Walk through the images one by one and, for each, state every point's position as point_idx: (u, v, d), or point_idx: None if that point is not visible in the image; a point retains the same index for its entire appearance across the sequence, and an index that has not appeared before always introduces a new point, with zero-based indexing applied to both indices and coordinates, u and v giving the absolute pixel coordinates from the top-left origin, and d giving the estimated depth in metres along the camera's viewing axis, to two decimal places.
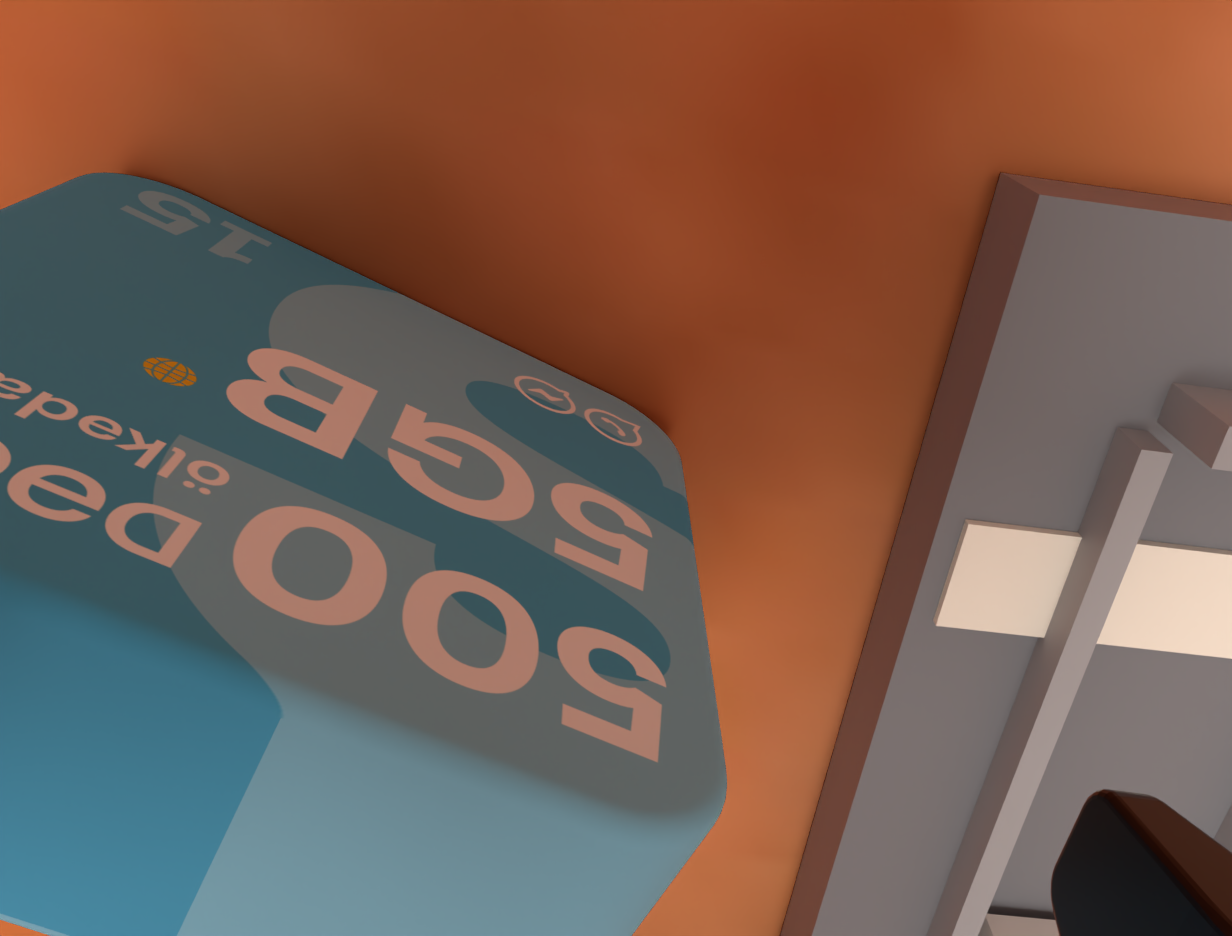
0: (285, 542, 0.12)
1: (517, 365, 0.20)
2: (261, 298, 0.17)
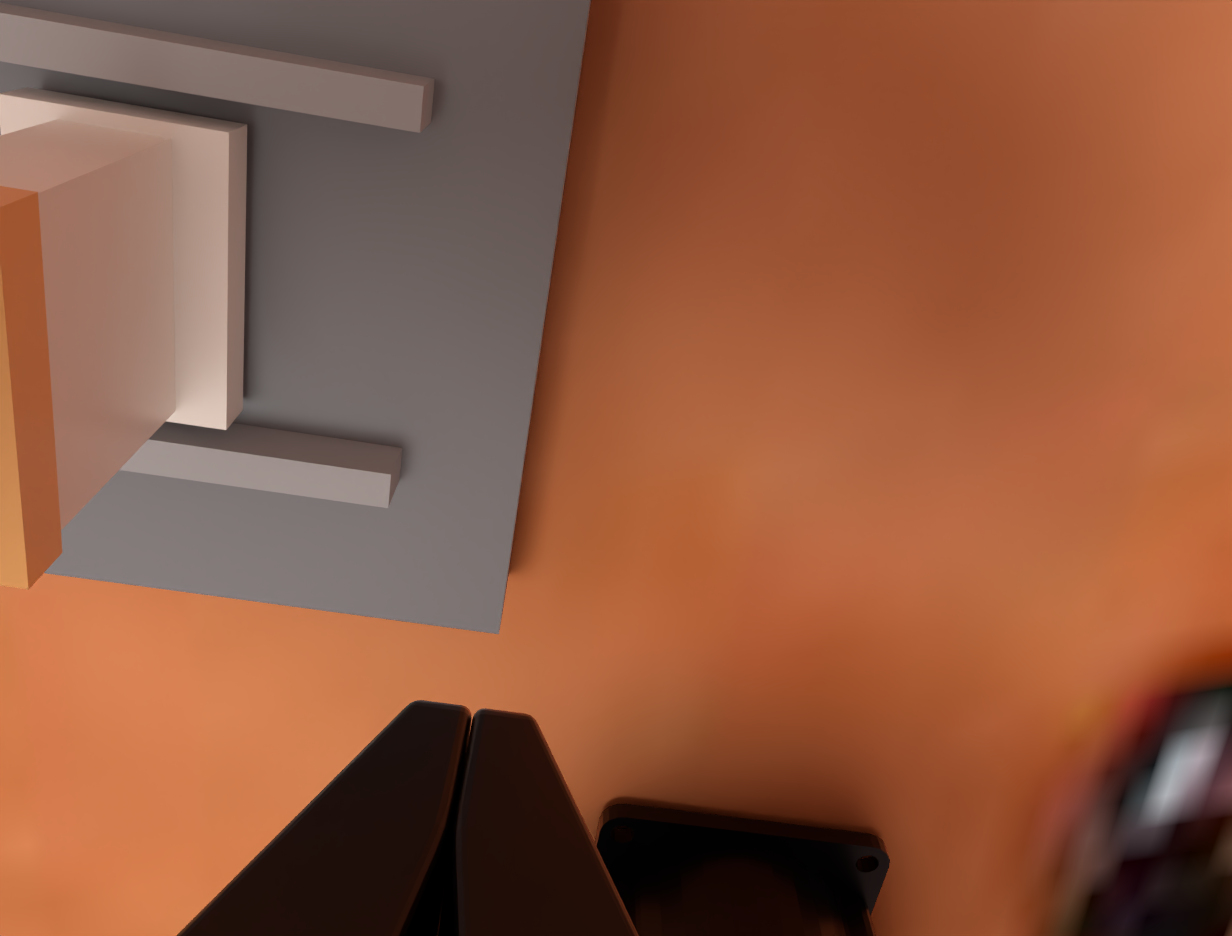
0: None
1: None
2: None
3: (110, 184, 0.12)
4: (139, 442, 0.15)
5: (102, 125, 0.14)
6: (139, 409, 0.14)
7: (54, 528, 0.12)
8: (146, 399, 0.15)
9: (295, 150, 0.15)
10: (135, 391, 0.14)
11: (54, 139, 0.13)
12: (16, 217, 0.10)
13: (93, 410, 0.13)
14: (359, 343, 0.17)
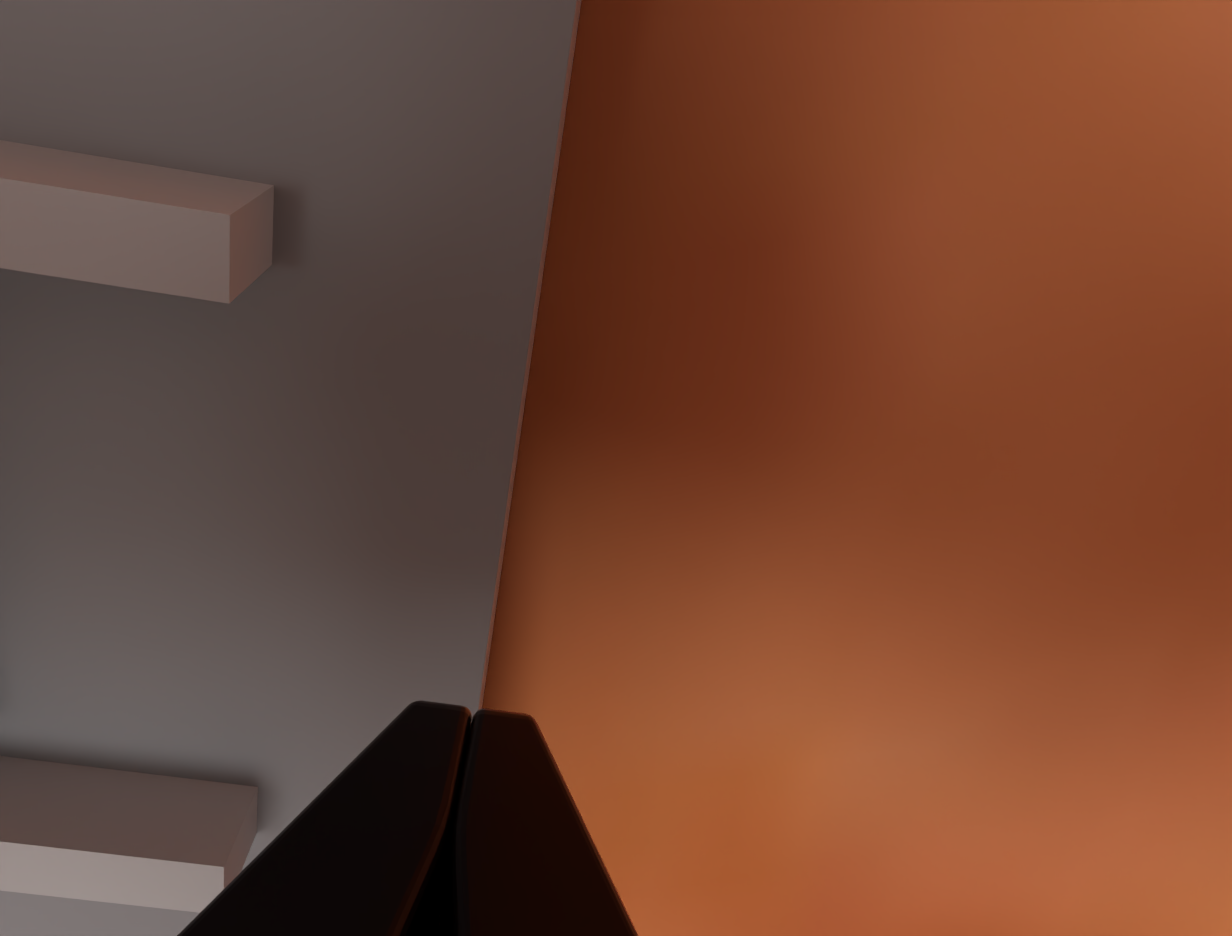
0: None
1: None
2: None
3: None
4: None
5: None
6: None
7: None
8: None
9: (20, 314, 0.08)
10: None
11: None
12: None
13: None
14: (171, 631, 0.09)
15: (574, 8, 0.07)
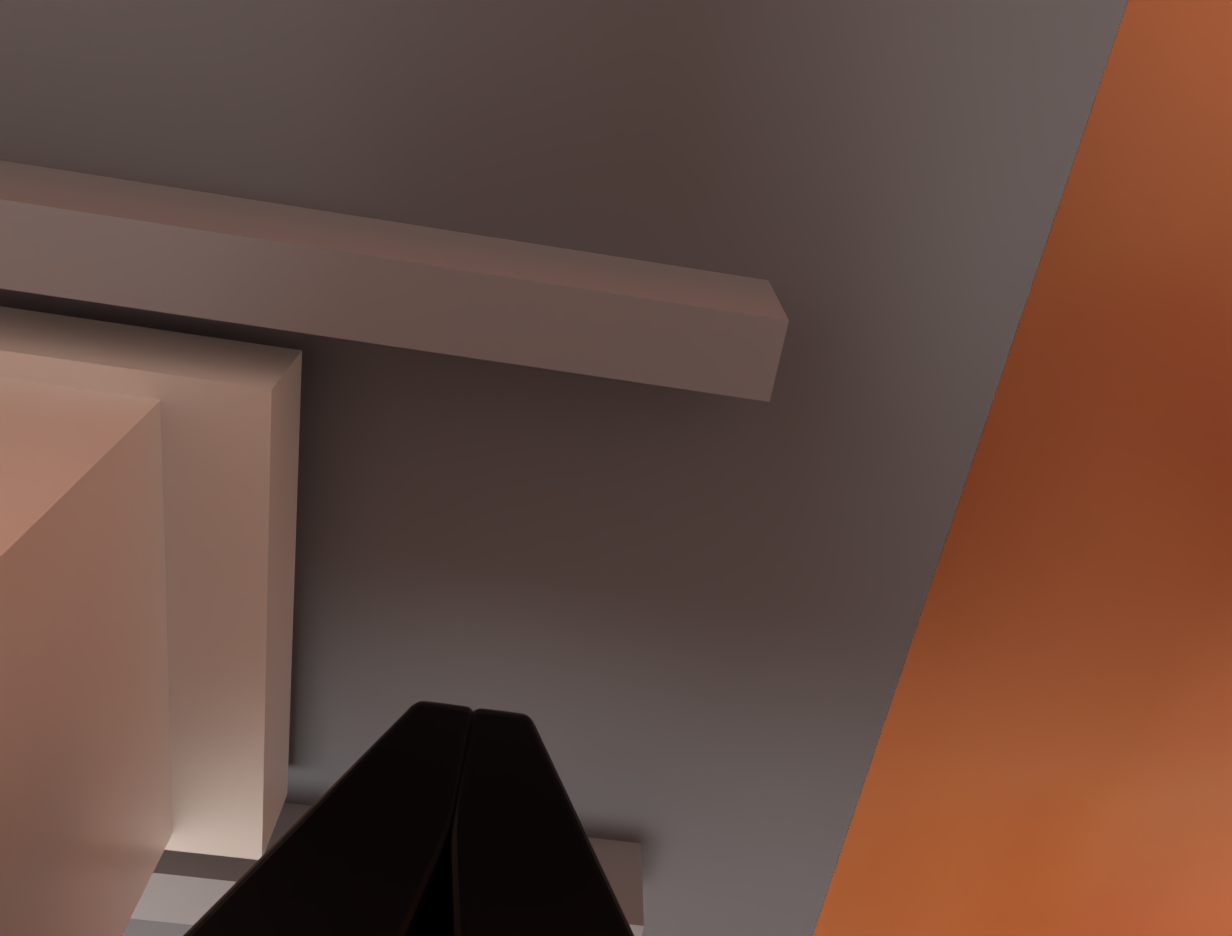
0: None
1: None
2: None
3: (19, 580, 0.06)
4: None
5: (23, 378, 0.07)
6: (101, 911, 0.08)
7: None
8: (116, 879, 0.08)
9: (501, 402, 0.08)
10: (92, 892, 0.07)
11: None
12: None
13: None
14: (586, 697, 0.10)
15: None
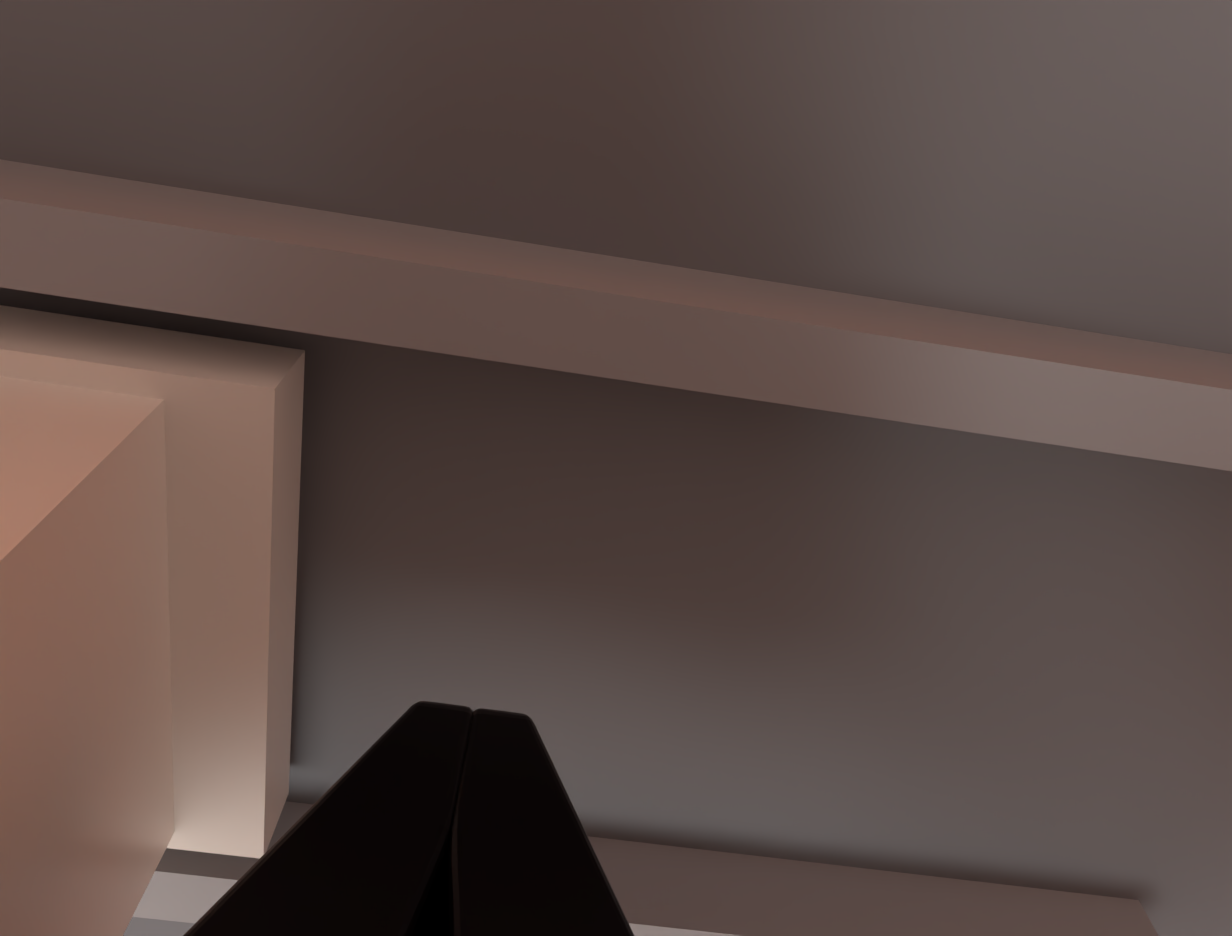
0: None
1: None
2: None
3: (24, 578, 0.06)
4: None
5: (28, 378, 0.07)
6: (104, 909, 0.08)
7: None
8: (119, 877, 0.08)
9: (1122, 492, 0.09)
10: (95, 890, 0.07)
11: None
12: None
13: None
14: (1125, 764, 0.10)
15: None
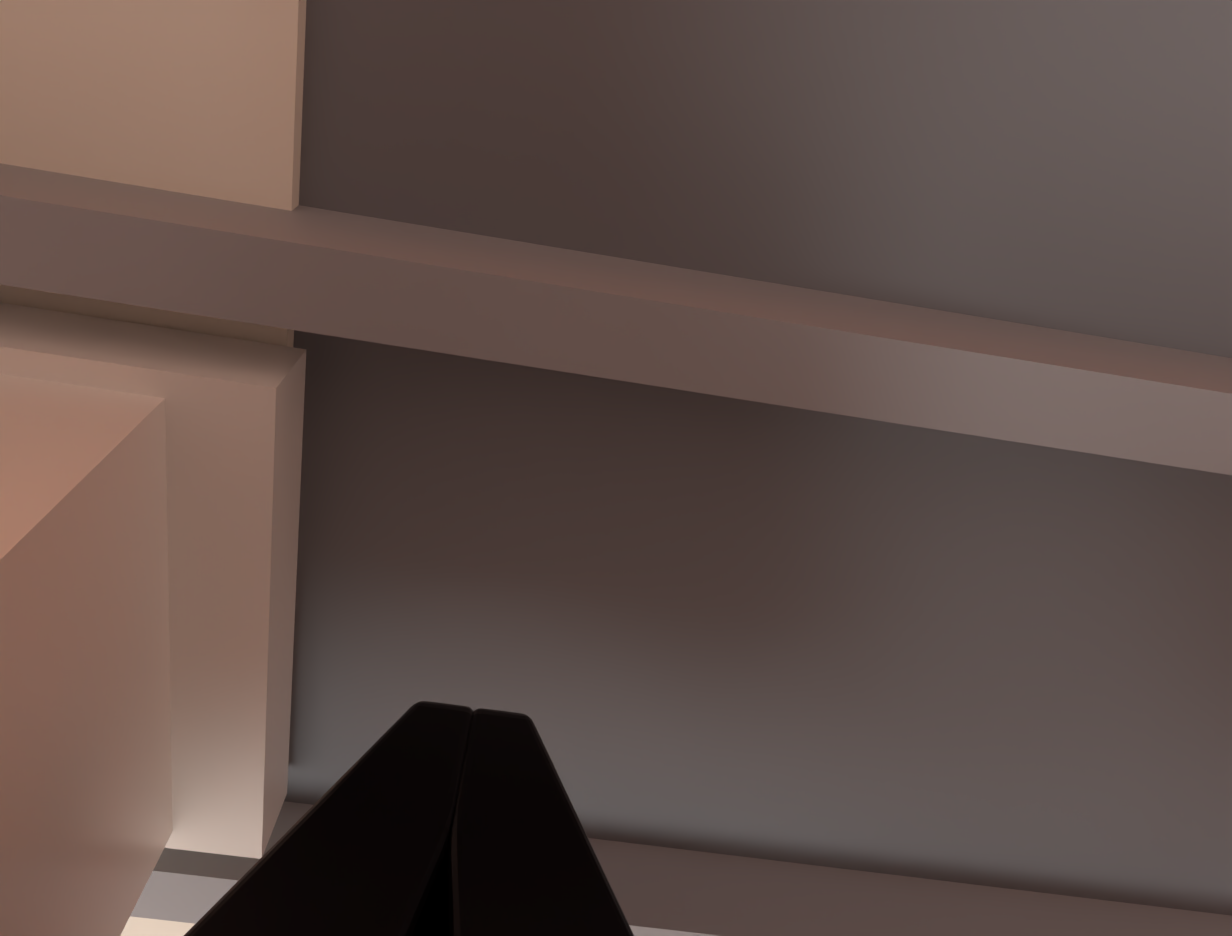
0: None
1: None
2: None
3: (25, 577, 0.06)
4: None
5: (28, 375, 0.07)
6: (102, 909, 0.08)
7: None
8: (117, 877, 0.08)
9: None
10: (93, 890, 0.07)
11: None
12: None
13: None
14: None
15: None
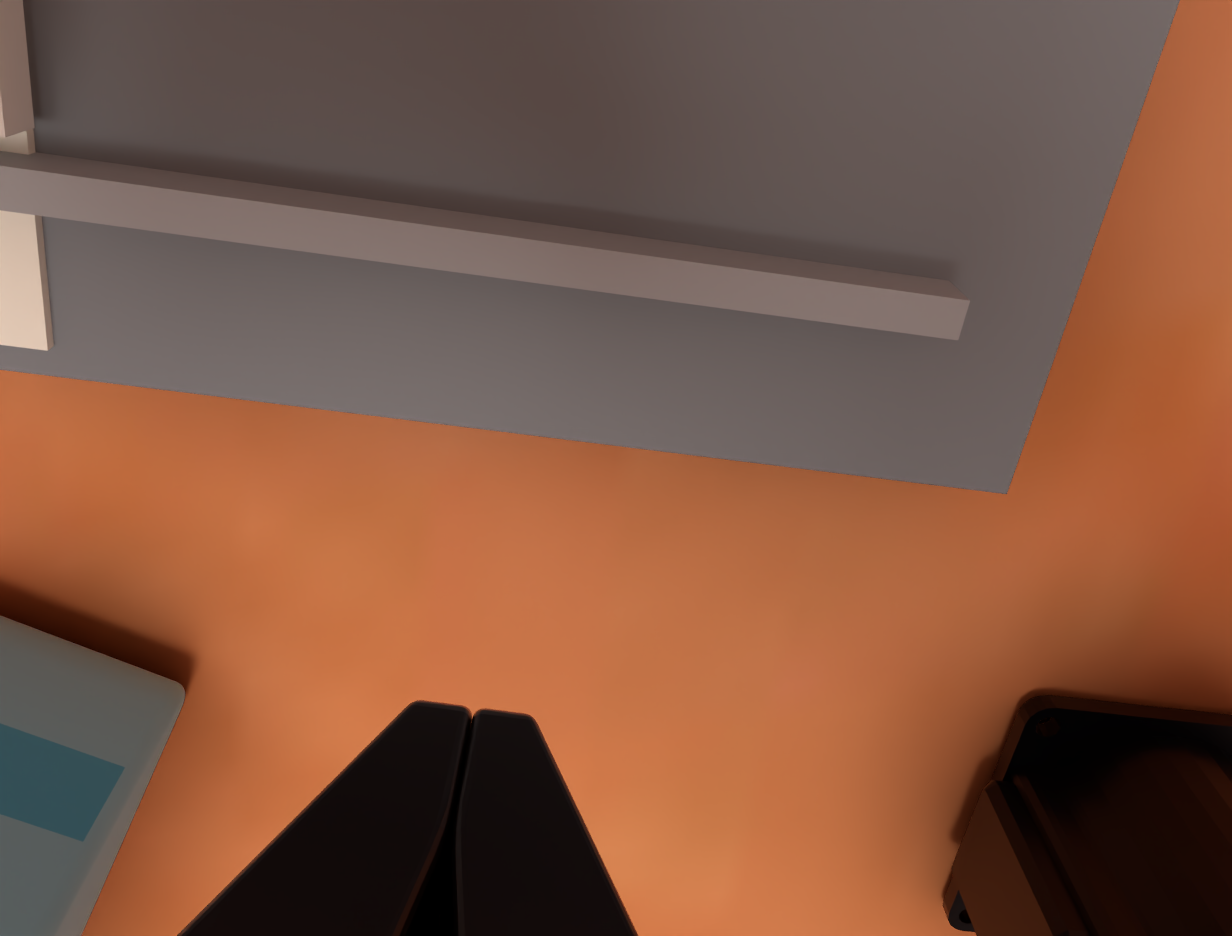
0: None
1: None
2: None
3: None
4: None
5: None
6: None
7: None
8: None
9: None
10: None
11: None
12: None
13: None
14: (928, 158, 0.15)
15: None
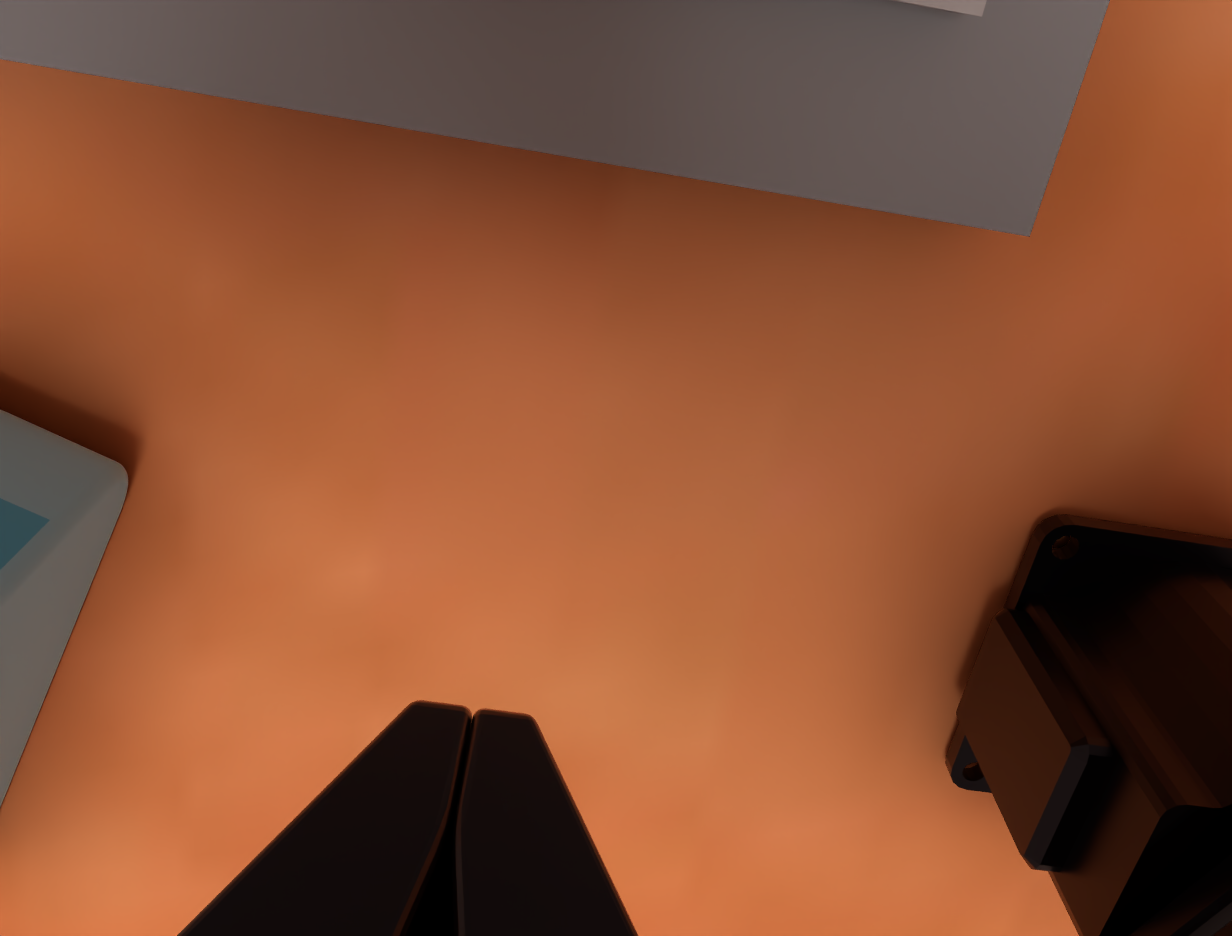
0: None
1: None
2: None
3: None
4: None
5: None
6: None
7: None
8: None
9: None
10: None
11: None
12: None
13: None
14: None
15: None
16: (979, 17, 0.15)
